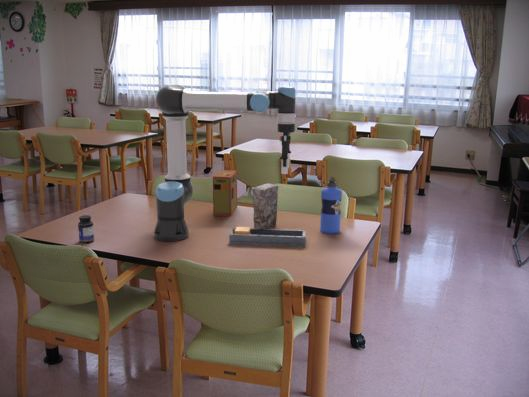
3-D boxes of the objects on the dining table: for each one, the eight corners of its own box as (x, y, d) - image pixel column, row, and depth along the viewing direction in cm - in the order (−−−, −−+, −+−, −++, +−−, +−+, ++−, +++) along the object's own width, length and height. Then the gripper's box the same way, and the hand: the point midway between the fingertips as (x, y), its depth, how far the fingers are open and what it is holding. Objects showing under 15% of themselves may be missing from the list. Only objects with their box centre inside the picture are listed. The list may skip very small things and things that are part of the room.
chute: (229, 244, 227) (229, 235, 226) (233, 235, 238) (233, 226, 237) (304, 247, 224) (305, 238, 223) (305, 238, 235) (305, 229, 234)
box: (220, 207, 285) (220, 170, 280) (237, 207, 284) (237, 170, 279) (213, 215, 269) (212, 176, 264) (230, 216, 268) (230, 177, 263)
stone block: (265, 232, 243) (265, 189, 238) (251, 229, 247) (251, 187, 242) (278, 224, 255) (279, 183, 250) (265, 222, 258) (265, 182, 253)
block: (234, 239, 229) (234, 230, 228) (236, 235, 235) (236, 226, 234) (248, 240, 229) (248, 231, 228) (250, 235, 234) (250, 227, 233)
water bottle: (315, 230, 246) (317, 177, 240) (327, 226, 252) (329, 174, 246) (332, 235, 240) (334, 180, 233) (344, 230, 246) (346, 177, 240)
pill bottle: (78, 240, 231) (76, 215, 228) (93, 238, 233) (91, 213, 230) (80, 244, 225) (78, 219, 223) (95, 242, 228) (93, 217, 225)
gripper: (293, 126, 221) (292, 176, 226) (296, 120, 245) (295, 165, 250) (275, 126, 221) (274, 176, 227) (279, 119, 246) (278, 165, 251)
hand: (285, 170), depth 238 cm, fingers open, 13 cm apart
